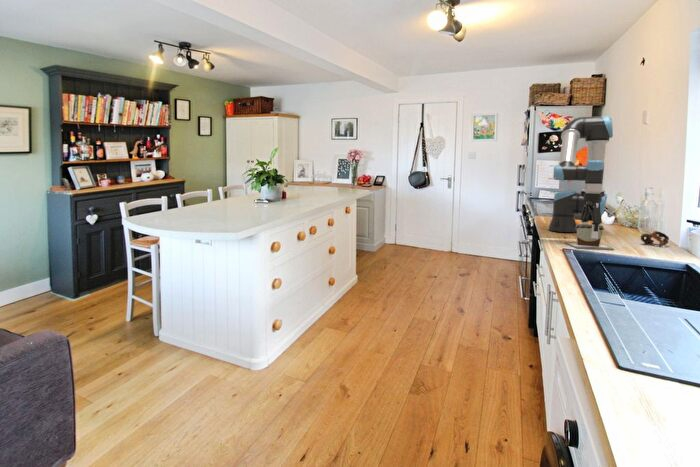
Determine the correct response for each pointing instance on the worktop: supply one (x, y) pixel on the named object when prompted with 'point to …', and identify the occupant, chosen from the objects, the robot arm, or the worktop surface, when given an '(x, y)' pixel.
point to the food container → (588, 235)
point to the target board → (601, 247)
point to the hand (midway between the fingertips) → (589, 236)
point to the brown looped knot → (655, 236)
